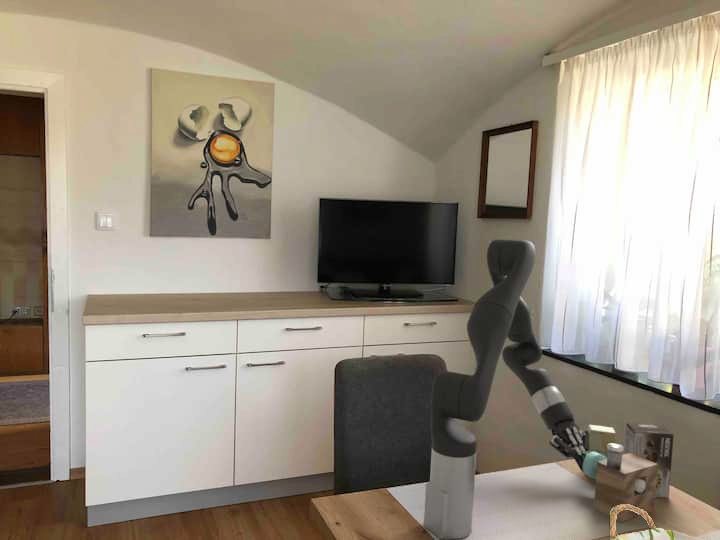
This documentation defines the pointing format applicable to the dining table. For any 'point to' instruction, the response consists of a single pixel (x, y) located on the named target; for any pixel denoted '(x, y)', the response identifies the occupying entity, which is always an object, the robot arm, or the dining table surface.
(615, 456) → the dial post
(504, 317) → the robot arm
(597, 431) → the skincare box
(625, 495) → the mount
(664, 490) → the coffee box
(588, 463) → the knob
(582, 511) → the dining table surface
